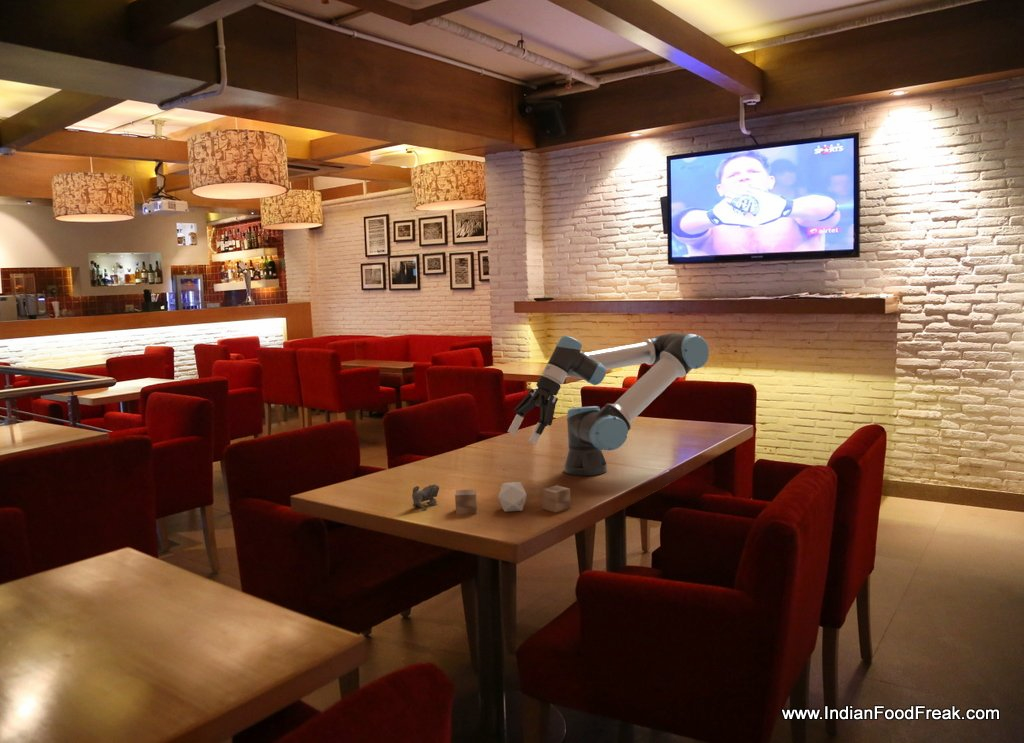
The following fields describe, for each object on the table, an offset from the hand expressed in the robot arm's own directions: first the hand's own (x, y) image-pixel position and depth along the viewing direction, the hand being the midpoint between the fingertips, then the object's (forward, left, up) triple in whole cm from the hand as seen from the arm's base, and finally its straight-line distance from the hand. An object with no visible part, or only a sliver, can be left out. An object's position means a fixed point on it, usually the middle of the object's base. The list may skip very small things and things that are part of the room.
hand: (521, 438), depth 254 cm
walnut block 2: (-1, +24, -18) cm, 30 cm away
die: (+11, +19, -18) cm, 28 cm away
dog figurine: (+33, +1, -18) cm, 37 cm away
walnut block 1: (+24, +14, -18) cm, 32 cm away
